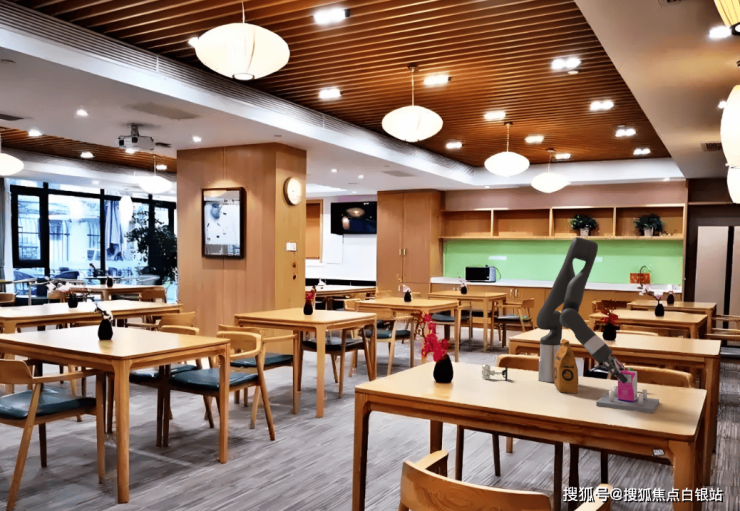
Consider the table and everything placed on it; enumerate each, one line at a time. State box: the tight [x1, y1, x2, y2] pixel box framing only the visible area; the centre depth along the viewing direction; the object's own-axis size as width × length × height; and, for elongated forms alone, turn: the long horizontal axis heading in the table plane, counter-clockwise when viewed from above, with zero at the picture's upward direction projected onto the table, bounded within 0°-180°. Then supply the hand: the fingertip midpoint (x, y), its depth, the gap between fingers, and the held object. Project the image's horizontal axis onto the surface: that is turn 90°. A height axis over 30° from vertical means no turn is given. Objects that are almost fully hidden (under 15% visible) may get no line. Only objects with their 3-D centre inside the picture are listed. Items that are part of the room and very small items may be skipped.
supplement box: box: [617, 369, 638, 403], centre depth 235 cm, size 6×6×12 cm
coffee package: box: [554, 338, 579, 394], centre depth 259 cm, size 10×12×22 cm
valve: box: [481, 364, 509, 381], centre depth 283 cm, size 7×7×12 cm
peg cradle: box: [595, 385, 660, 414], centre depth 235 cm, size 20×20×6 cm
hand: (627, 380), depth 235 cm, fingers open, 8 cm apart
